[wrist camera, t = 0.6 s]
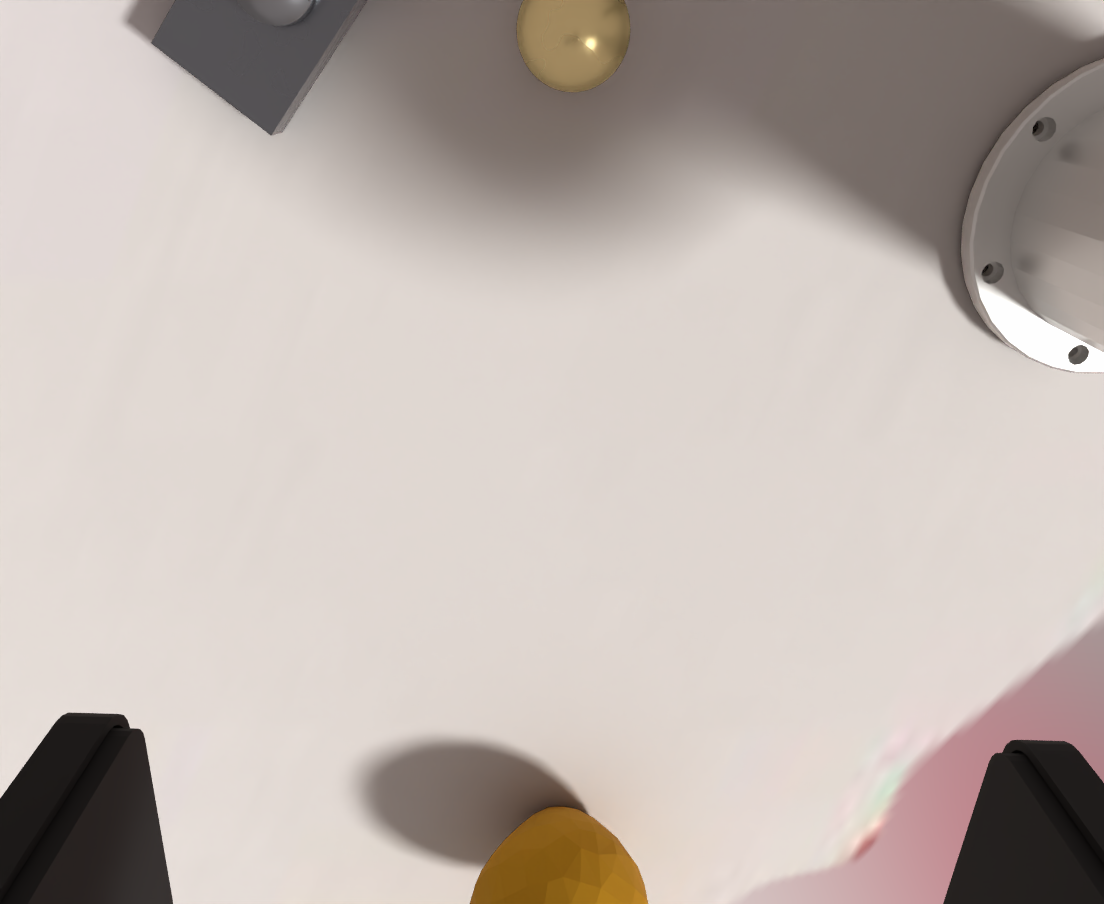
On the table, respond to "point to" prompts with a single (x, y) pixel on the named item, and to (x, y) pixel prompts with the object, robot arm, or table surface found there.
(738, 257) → the table surface
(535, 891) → the apple
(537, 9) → the brass pin
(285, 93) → the lower chain end
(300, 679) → the table surface
